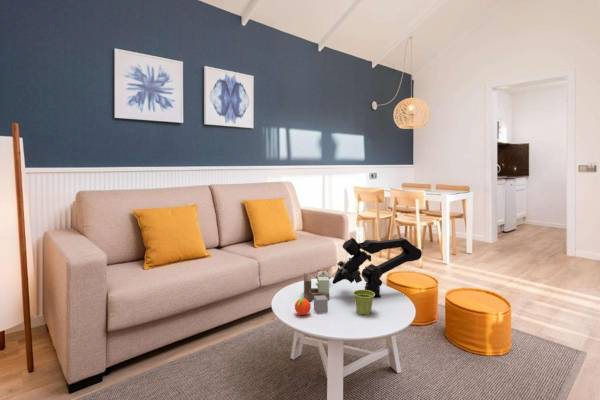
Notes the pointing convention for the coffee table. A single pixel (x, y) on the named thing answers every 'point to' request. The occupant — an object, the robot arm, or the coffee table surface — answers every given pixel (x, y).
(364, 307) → the plant pot
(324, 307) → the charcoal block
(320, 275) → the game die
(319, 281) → the pale green block
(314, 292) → the walnut console
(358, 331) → the coffee table surface
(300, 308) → the clementine
